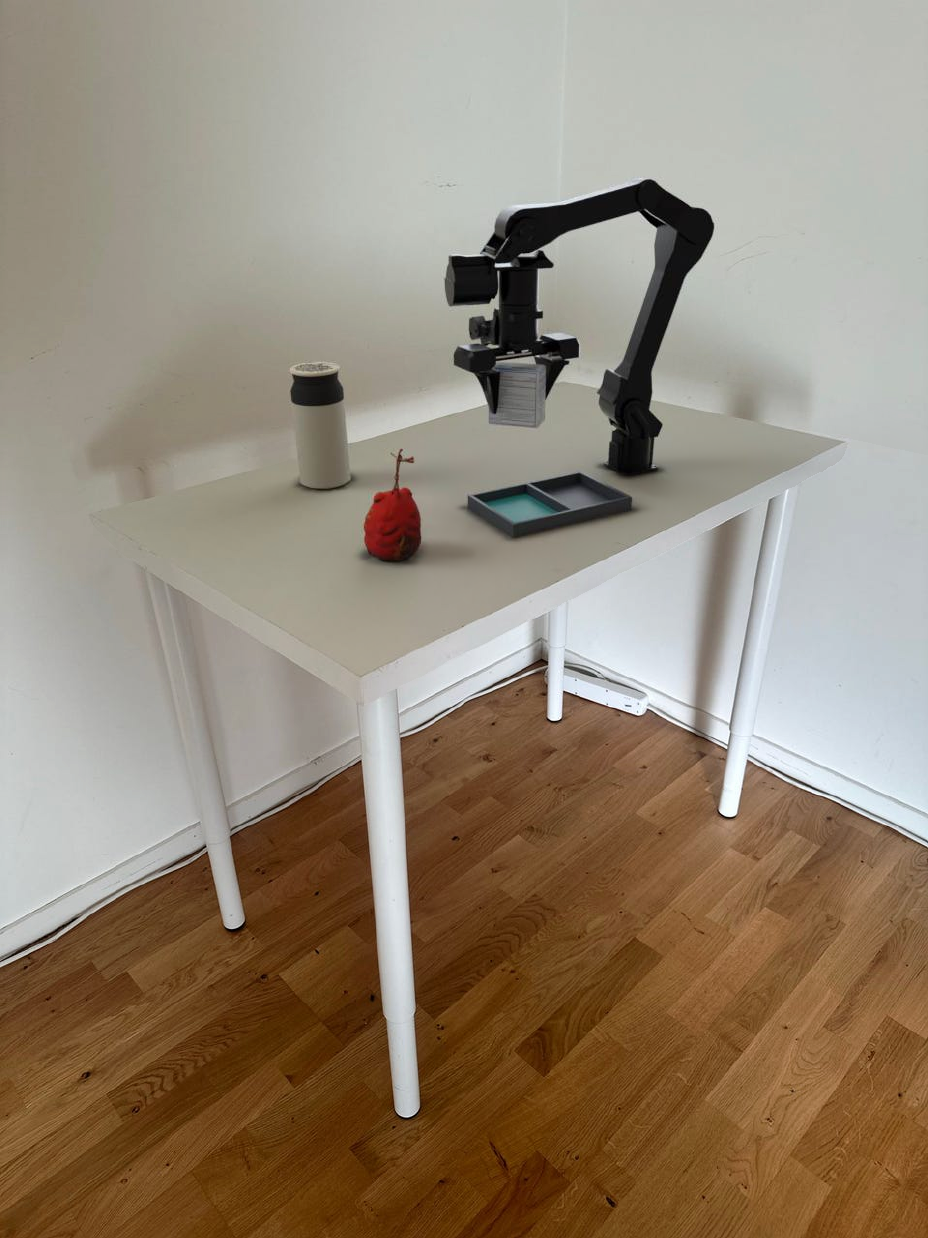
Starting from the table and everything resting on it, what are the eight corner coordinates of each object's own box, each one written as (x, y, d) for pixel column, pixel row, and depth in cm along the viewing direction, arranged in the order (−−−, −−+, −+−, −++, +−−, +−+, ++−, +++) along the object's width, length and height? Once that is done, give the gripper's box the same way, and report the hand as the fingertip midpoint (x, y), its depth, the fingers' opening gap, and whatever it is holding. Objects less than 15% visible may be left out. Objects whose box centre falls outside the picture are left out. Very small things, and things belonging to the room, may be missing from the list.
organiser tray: (580, 483, 142) (580, 470, 141) (631, 509, 131) (632, 496, 130) (467, 507, 133) (467, 494, 132) (513, 538, 123) (513, 524, 122)
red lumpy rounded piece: (407, 538, 124) (401, 431, 117) (433, 556, 119) (429, 445, 111) (357, 551, 120) (348, 442, 113) (382, 570, 115) (374, 457, 108)
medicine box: (545, 421, 139) (547, 364, 135) (537, 429, 136) (539, 371, 131) (496, 416, 142) (497, 360, 138) (487, 424, 138) (487, 367, 134)
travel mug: (329, 493, 140) (317, 375, 131) (289, 484, 143) (276, 369, 135) (360, 478, 145) (352, 364, 137) (322, 469, 149) (311, 358, 140)
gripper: (543, 288, 140) (541, 389, 148) (435, 300, 133) (438, 405, 140) (584, 299, 132) (579, 405, 139) (471, 312, 124) (472, 424, 132)
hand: (517, 409), depth 138 cm, fingers closed on medicine box, 8 cm apart
